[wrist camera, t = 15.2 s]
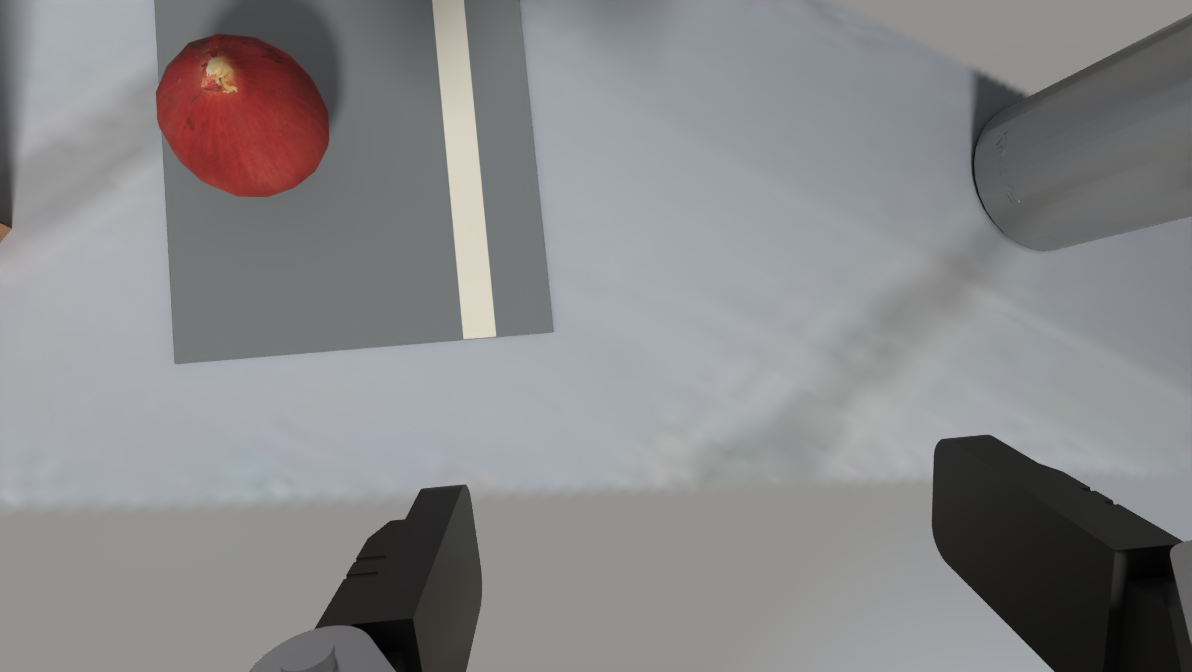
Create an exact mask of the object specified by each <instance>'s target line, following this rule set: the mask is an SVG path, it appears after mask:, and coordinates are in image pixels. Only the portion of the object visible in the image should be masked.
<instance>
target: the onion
mask: <svg viewBox="0 0 1192 672" xmlns="http://www.w3.org/2000/svg"><path fill="white" fill-rule="evenodd" d="M156 102H157V120H158V123H159V127H160V129H161V131H162V133H163V135H164V136H165V138H166V140H167V142H168V144H169V145H170V147H171V149H172V151H173V153H174V154H175V156H176V157H177V158H178V160H179V161H180V162H181V163H182V164H183V165H184V166H185V167H186V168H188V169H189V170H190V171H191V172H192V173H193V174H194V175H195V176H196V177H197V178H199V179H200V180H201V181H202V182H204V183H206V184H208V185H210V186H212V187H215V188H217V189H220V190H222V191H225V192H228V193H230V194H233V195H235V196H238V197H269V196H272V195H275V194H278V193H281V192H284V191H287V190H290V189H292V188H295V187H296V186H298V185H299V184H300V183H301V182H303V181H304V180H305V179H306V178H308V177H309V176H310V175H311V174H313V173H314V172H315V171H316V169H317V168H318V166H319V164H320V162H321V160H322V158H323V156H324V154H325V152H326V150H327V148H328V143H329V116H328V110H327V108H326V106H325V103H324V101H323V99H322V97H321V95H320V93H319V90H318V88H317V86H316V84H315V83H314V81H313V80H312V78H311V77H310V76H309V74H308V73H307V72H306V71H305V70H304V69H303V68H302V67H301V66H300V65H299V64H298V63H297V62H296V61H295V60H294V59H293V57H292V56H290V55H289V54H287V53H286V52H284V51H282V50H280V49H278V48H276V47H274V46H272V45H270V44H268V43H266V42H264V41H262V40H261V39H259V38H257V37H249V36H238V35H228V34H216V35H213V36H209V37H206V38H202V39H199V40H196V41H192V42H189V43H188V44H187V45H186V46H185V47H184V48H183V50H182V51H181V52H180V53H179V54H178V55H177V56H176V57H175V58H174V59H173V60H172V61H171V62H170V63H169V64H168V65H167V67H166V69H165V72H164V74H163V76H162V79H161V81H160V84H159V86H158V89H157V91H156Z"/></svg>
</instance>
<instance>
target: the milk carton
mask: <svg viewBox="0 0 1192 672" xmlns="http://www.w3.org/2000/svg"><path fill="white" fill-rule="evenodd" d="M11 229H12V228H10V227H8V226H7V225H5V224H3V223H1V222H0V242H1V241H2V240H3V238H4V237H5V236H6V235H7V234H8V233H9V232H10V230H11Z"/></svg>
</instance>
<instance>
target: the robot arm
mask: <svg viewBox="0 0 1192 672" xmlns="http://www.w3.org/2000/svg"><path fill="white" fill-rule="evenodd" d="M974 166H975V179H976V183H977V187H978V191H979V195H980V197H981V200H982V202H983V204H984V207H985V209H986V211H987V212H988V214H989V215H990V217H991V218H992V220H993V221H994V223H995V224H996V225H997V226H998V227H999V228H1000V229H1001V230H1002V232H1003V233H1004V234H1005V235H1007V236H1008V237H1010V238H1011V239H1012V240H1014V241H1015V242H1016V243H1018V244H1020V245H1023V246H1025V247H1027V248H1030V249H1035V250H1040V251H1049V250H1057V249H1061V248H1065V247H1069V246H1073V245H1077V244H1081V243H1085V242H1089V241H1093V240H1097V239H1101V238H1105V237H1109V236H1113V235H1117V234H1122V233H1126V232H1130V231H1134V230H1138V229H1142V228H1146V227H1150V226H1154V225H1158V224H1162V223H1166V222H1170V221H1174V220H1178V219H1182V218H1186V217H1190V216H1192V14H1190V15H1188V16H1186V17H1184V18H1182V19H1180V20H1178V21H1176V22H1174V23H1172V24H1170V25H1168V26H1166V27H1165V28H1163V29H1161V30H1159V31H1157V32H1155V33H1153V34H1151V35H1149V36H1147V37H1145V38H1143V39H1141V40H1139V41H1137V42H1136V43H1133V44H1131V45H1129V46H1127V47H1125V48H1124V49H1122V50H1120V51H1118V52H1116V53H1114V54H1112V55H1110V56H1108V57H1106V58H1104V59H1102V60H1101V61H1098V62H1096V63H1094V64H1093V65H1091V66H1089V67H1087V68H1085V69H1083V70H1081V71H1079V72H1077V73H1075V74H1073V75H1071V76H1069V77H1067V78H1065V79H1063V80H1061V81H1059V82H1057V83H1055V84H1053V85H1051V86H1050V87H1047V88H1045V89H1044V90H1042V91H1040V92H1038V93H1036V94H1034V95H1032V96H1030V97H1028V98H1026V99H1024V100H1022V101H1020V102H1018V103H1016V104H1014V105H1012V106H1011V107H1009V108H1007V109H1005V110H1003V111H1001V112H1000V113H998V114H996V115H995V116H994V117H993V118H992V119H991V120H990V121H989V122H988V123H987V125H986V126H985V128H984V130H983V131H982V133H981V135H980V137H979V141H978V144H977V147H976V153H975V161H974ZM932 529H933V536H934V540H935V543H936V546H937V548H938V551H939V552H940V554H941V556H942V558H943V559H944V560H945V562H946V563H947V564H948V565H949V566H950V567H951V568H952V569H953V570H954V571H955V572H956V573H957V574H958V575H959V576H960V577H961V578H962V579H963V580H964V581H965V582H966V583H967V584H968V585H969V586H970V587H971V588H972V589H973V590H974V591H975V592H976V593H977V594H978V595H979V596H980V597H981V598H982V599H983V600H984V601H985V602H986V603H987V604H988V605H989V606H990V607H991V608H992V609H993V610H994V611H995V612H996V613H997V614H998V615H999V616H1000V617H1001V618H1002V619H1003V620H1004V621H1005V622H1006V623H1007V624H1008V625H1009V626H1010V627H1011V628H1012V629H1013V630H1014V631H1015V632H1016V633H1017V634H1018V635H1019V636H1020V637H1021V638H1022V639H1023V640H1024V641H1025V642H1026V643H1027V644H1028V645H1029V646H1030V647H1031V648H1032V649H1033V650H1034V651H1035V652H1036V653H1037V654H1038V655H1039V656H1040V657H1041V658H1042V659H1043V660H1044V662H1046V664H1047V665H1049V667H1050V668H1051V669H1052V670H1054V672H1192V540H1191V541H1186V542H1183V541H1181V540H1180V539H1178V538H1176V537H1174V536H1173V535H1171V534H1169V533H1168V532H1166V531H1164V530H1162V529H1161V528H1159V527H1157V526H1155V525H1154V524H1152V523H1150V522H1149V521H1147V520H1145V519H1143V518H1141V517H1140V516H1138V515H1136V514H1135V513H1133V512H1131V511H1130V510H1128V509H1126V508H1124V507H1123V506H1121V505H1119V504H1117V505H1114V504H1113V501H1112V500H1111V499H1109V498H1107V497H1105V496H1104V495H1102V494H1100V493H1099V492H1097V491H1091V490H1090V487H1088V486H1086V485H1085V484H1083V483H1081V482H1080V481H1078V480H1076V479H1074V478H1073V477H1071V476H1069V475H1068V474H1066V473H1064V472H1062V471H1059V470H1056V469H1053V468H1050V467H1047V466H1045V465H1042V464H1039V463H1037V462H1035V461H1034V460H1032V459H1030V458H1029V457H1027V456H1025V455H1024V454H1022V453H1020V452H1018V451H1017V450H1015V449H1013V448H1012V447H1010V446H1008V445H1007V444H1005V443H1003V442H1002V441H1000V440H998V439H996V438H995V437H993V436H991V435H979V436H968V437H958V438H948V439H942V440H940V441H939V442H938V443H937V445H936V448H935V452H934V469H933V503H932ZM481 599H482V575H481V566H480V559H479V551H478V544H477V538H476V531H475V524H474V517H473V510H472V503H471V497H470V493H469V489H468V487H467V485H455V486H444V487H434V488H424V489H421V490H420V492H419V494H418V496H417V498H416V499H415V501H414V504H413V505H412V507H411V509H410V511H409V513H408V515H407V517H406V519H404V520H394V521H390V522H388V523H387V524H386V525H384V526H383V527H382V528H381V529H380V530H378V531H377V532H376V533H375V534H373V535H372V536H371V537H370V538H368V539H367V541H366V543H365V544H364V546H363V548H362V549H361V551H360V553H359V555H358V556H357V558H356V562H354V563H353V565H352V567H351V568H350V570H349V571H348V574H347V578H346V579H344V580H343V582H342V583H341V585H340V587H339V588H338V590H337V592H336V593H335V595H334V597H333V599H332V601H331V602H330V604H329V605H328V607H327V609H326V610H325V612H324V614H323V615H322V617H321V619H320V621H319V622H318V624H317V626H316V627H315V629H314V630H310V631H307V632H304V633H302V634H299V635H297V636H295V637H293V638H290V639H289V640H287V641H285V642H283V643H281V644H280V645H278V646H276V647H275V648H273V649H272V650H271V651H269V652H268V653H267V654H265V655H264V656H263V657H262V658H261V659H260V660H259V661H258V662H257V663H256V664H255V665H254V666H253V668H252V669H251V670H250V672H466V669H467V665H468V660H469V656H470V651H471V647H472V642H473V638H474V634H475V629H476V625H477V620H478V616H479V611H480V607H481Z"/></svg>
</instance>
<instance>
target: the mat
mask: <svg viewBox="0 0 1192 672" xmlns="http://www.w3.org/2000/svg"><path fill="white" fill-rule="evenodd" d="M154 4H155V22H156V40H157V58H158V76H159V84H160V81H161V79H162V76H163V74H164V72H165V69H166V67H167V65H168V64H169V63H170V62H171V61H172V60H173V59H174V58H175V57H176V56H177V55H178V54H179V53H180V52H181V51H182V50H183V48H184V47H185V46H186V45H187V44H188V43H189V42H192V41H196V40H199V39H202V38H206V37H209V36H213V35H216V34H228V35H238V36H249V37H257V38H259V39H261V40H262V41H264V42H266V43H268V44H270V45H272V46H274V47H276V48H278V49H280V50H282V51H284V52H286V53H287V54H289V55H290V56H292V57H293V59H294V60H295V61H296V62H297V63H298V64H299V65H300V66H301V67H302V68H303V69H304V70H305V71H306V72H307V73H308V74H309V76H310V77H311V78H312V80H313V81H314V83H315V84H316V86H317V88H318V90H319V93H320V95H321V97H322V99H323V101H324V103H325V106H326V108H327V110H328V116H329V143H328V148H327V150H326V152H325V154H324V156H323V158H322V160H321V162H320V164H319V166H318V168H317V169H316V171H315V172H314V173H313V174H311V175H310V176H309V177H308V178H306V179H305V180H304V181H303V182H301V183H300V184H299V185H298V186H296V187H295V188H292V189H290V190H287V191H284V192H281V193H278V194H275V195H272V196H269V197H238V196H235V195H233V194H230V193H228V192H225V191H222V190H220V189H217V188H215V187H212V186H210V185H208V184H206V183H204V182H202V181H201V180H200V179H199V178H197V177H196V176H195V175H194V174H193V173H192V172H191V171H190V170H189V169H188V168H186V167H185V166H184V165H183V164H182V163H181V162H180V161H179V160H178V158H177V157H176V156H175V154H174V153H173V151H172V149H171V147H170V145H169V144H168V142H167V140H166V138H165V136H164V135H163V133H162V147H163V165H164V183H165V200H166V218H167V236H168V254H169V272H170V289H171V307H172V325H173V343H174V361H175V364H183V363H194V362H206V361H218V360H230V359H242V358H254V357H266V356H278V355H290V354H301V353H313V352H325V351H337V350H349V349H361V348H373V347H385V346H397V345H408V344H420V343H432V342H444V341H456V340H468V339H480V338H492V337H504V336H516V335H527V334H539V333H551V332H554V329H553V320H552V310H551V301H550V291H549V281H548V272H547V262H546V252H545V243H544V233H543V224H542V214H541V204H540V195H539V185H538V175H537V166H536V156H535V147H534V137H533V127H532V118H531V108H530V98H529V89H528V79H527V70H526V60H525V50H524V41H523V31H522V21H521V12H520V2H519V0H154Z"/></svg>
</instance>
